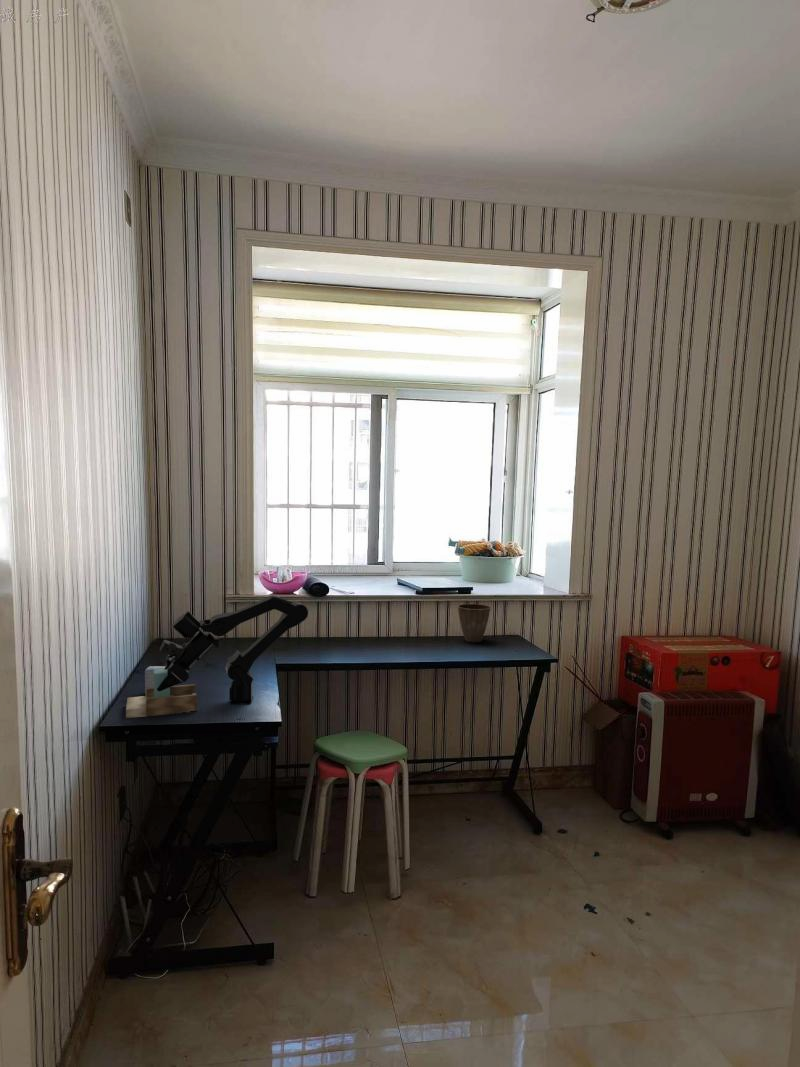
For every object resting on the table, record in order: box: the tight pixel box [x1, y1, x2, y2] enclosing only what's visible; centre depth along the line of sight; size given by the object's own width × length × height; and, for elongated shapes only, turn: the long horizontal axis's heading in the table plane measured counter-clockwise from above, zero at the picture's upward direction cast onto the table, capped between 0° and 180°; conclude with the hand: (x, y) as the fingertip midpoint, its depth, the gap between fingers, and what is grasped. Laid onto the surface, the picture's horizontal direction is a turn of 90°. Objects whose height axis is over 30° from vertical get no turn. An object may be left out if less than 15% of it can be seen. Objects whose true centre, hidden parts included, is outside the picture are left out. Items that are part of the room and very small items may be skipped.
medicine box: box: [144, 665, 166, 696], centre depth 216 cm, size 8×4×9 cm, turn 92°
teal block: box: [154, 669, 170, 698], centre depth 201 cm, size 4×4×9 cm
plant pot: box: [457, 603, 491, 643], centre depth 303 cm, size 15×15×16 cm
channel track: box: [125, 683, 198, 719], centre depth 201 cm, size 20×12×5 cm, turn 110°
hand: (157, 686), depth 200 cm, fingers open, 9 cm apart
